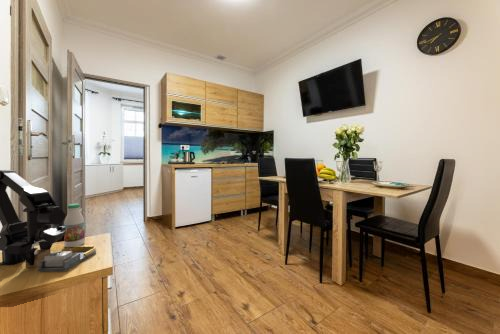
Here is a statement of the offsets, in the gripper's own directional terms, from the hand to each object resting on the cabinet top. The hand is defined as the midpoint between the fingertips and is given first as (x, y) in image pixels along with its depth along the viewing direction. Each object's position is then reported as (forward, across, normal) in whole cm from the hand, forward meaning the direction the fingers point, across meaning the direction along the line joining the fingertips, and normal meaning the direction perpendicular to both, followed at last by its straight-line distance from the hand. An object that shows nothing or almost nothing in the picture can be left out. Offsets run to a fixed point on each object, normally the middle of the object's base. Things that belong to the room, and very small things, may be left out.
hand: (38, 261), depth 84 cm
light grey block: (-1, -2, -11) cm, 11 cm away
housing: (+1, 0, 0) cm, 1 cm away
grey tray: (+1, +2, -10) cm, 11 cm away
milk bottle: (+1, +20, +2) cm, 20 cm away
